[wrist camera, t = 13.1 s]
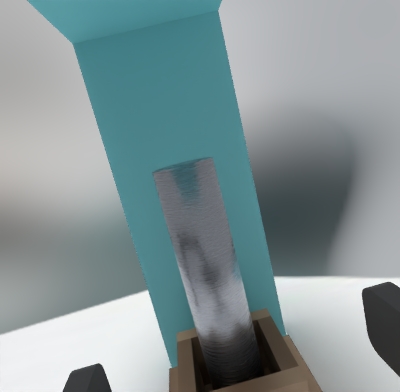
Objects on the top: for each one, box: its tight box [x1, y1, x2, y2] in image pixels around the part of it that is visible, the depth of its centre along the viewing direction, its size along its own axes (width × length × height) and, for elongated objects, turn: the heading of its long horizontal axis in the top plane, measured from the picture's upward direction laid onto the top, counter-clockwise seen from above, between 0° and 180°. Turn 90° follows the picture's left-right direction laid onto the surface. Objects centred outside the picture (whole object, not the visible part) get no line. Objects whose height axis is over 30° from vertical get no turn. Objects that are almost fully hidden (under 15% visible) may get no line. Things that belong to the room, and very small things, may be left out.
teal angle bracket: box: [27, 0, 286, 368], centre depth 18 cm, size 10×15×28 cm, turn 6°
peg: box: [152, 157, 265, 391], centre depth 18 cm, size 3×3×16 cm
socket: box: [169, 308, 322, 392], centre depth 19 cm, size 10×10×5 cm
